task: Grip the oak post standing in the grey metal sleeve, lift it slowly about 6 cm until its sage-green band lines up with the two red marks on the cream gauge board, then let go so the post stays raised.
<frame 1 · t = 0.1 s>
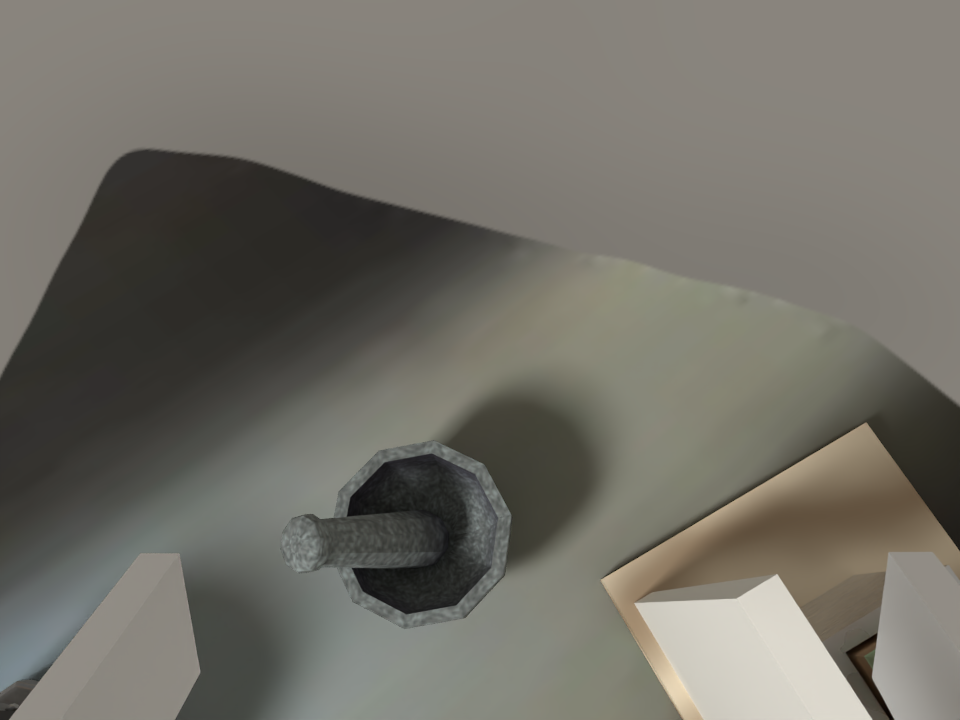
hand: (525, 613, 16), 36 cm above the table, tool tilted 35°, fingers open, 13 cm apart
metal sleeve: (880, 667, 41), on the birch base plate, point 8 cm above the table
mortar and pestle: (425, 543, 52), on the table
birch base plate: (831, 658, 49), on the table
oak post: (938, 678, 35), point 14 cm above the table, slide at 0.0 cm
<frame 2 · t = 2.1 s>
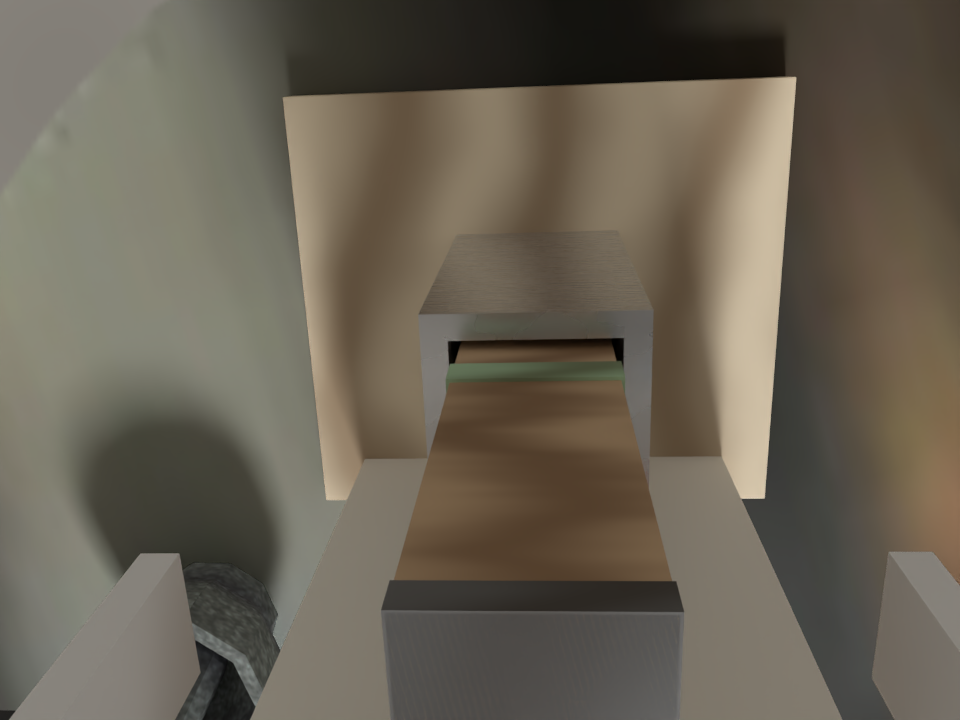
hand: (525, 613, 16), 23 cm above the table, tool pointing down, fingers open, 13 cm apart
metal sleeve: (537, 355, 31), on the birch base plate, point 8 cm above the table
mortar and pestle: (217, 621, 45), on the table
birch base plate: (537, 300, 38), on the table
gauge board: (540, 675, 26), on the birch base plate, point 16 cm above the table
oak post: (536, 427, 25), point 14 cm above the table, slide at 0.0 cm
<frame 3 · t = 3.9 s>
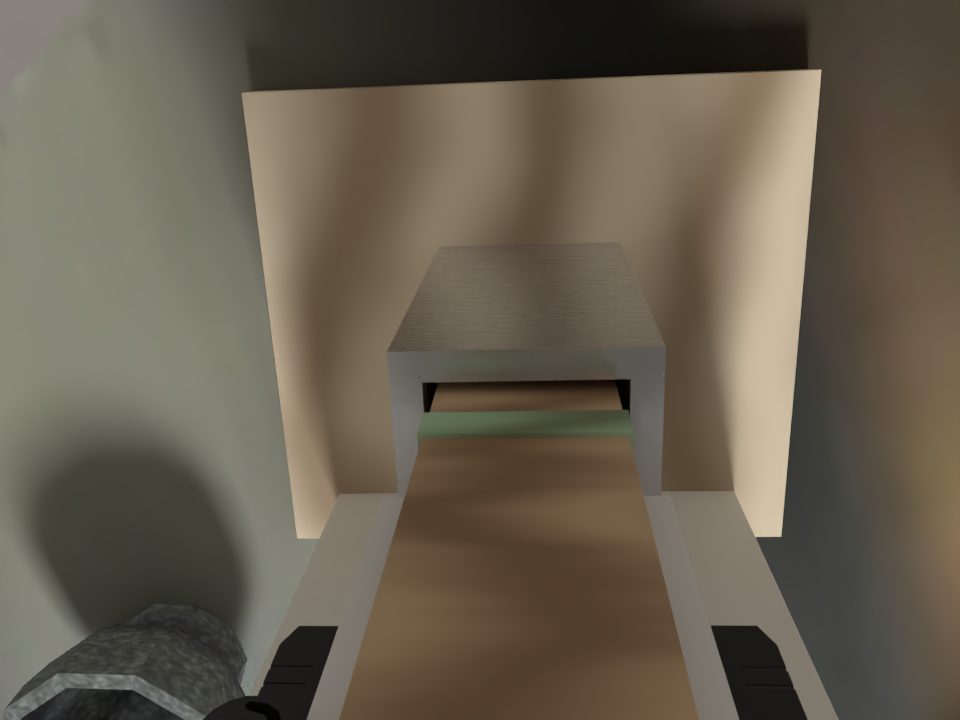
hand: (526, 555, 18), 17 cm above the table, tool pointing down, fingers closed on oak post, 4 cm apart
metal sleeve: (529, 387, 27), on the birch base plate, point 8 cm above the table
mortar and pestle: (180, 666, 41), on the table
birch base plate: (530, 318, 34), on the table
oak post: (527, 483, 21), point 14 cm above the table, slide at 0.0 cm, touching gripper
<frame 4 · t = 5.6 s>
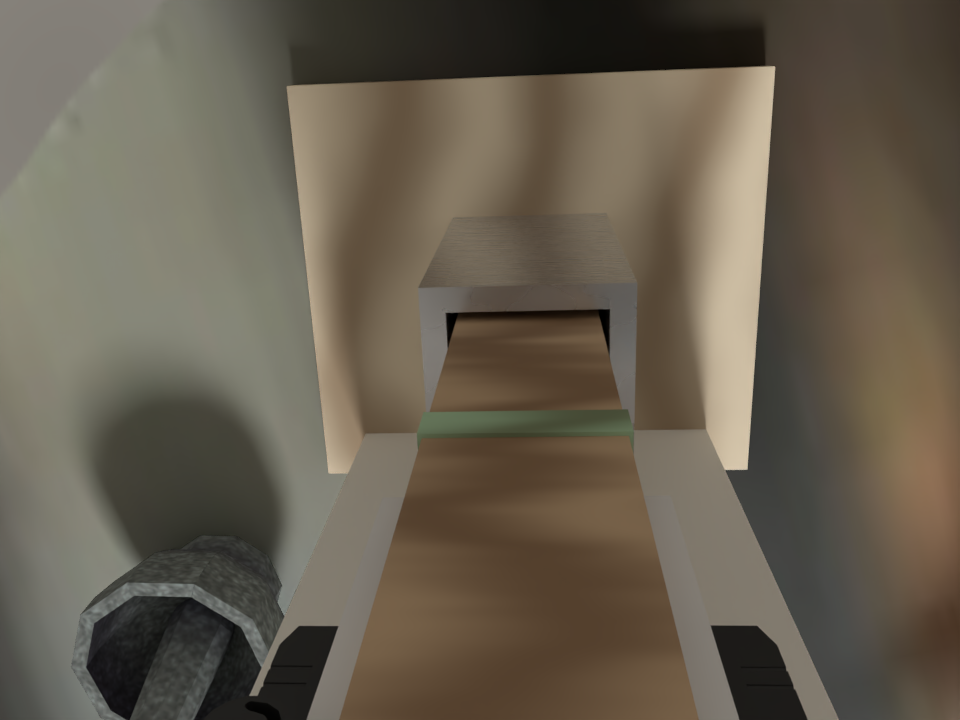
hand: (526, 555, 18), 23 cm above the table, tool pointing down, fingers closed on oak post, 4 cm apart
metal sleeve: (529, 329, 33), on the birch base plate, point 8 cm above the table
mortar and pestle: (223, 592, 47), on the table
birch base plate: (530, 280, 40), on the table
gauge board: (533, 624, 27), on the birch base plate, point 16 cm above the table
oak post: (527, 483, 21), point 20 cm above the table, slide at 5.9 cm, touching gripper
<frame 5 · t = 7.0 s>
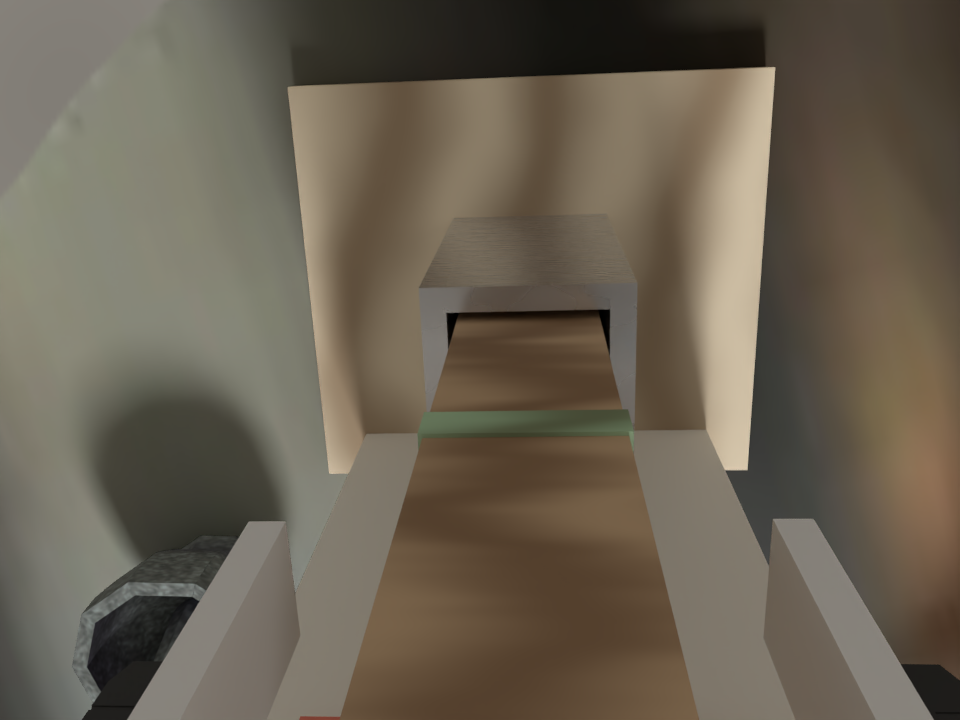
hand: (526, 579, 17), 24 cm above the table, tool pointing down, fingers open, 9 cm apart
metal sleeve: (530, 330, 33), on the birch base plate, point 8 cm above the table
mortar and pestle: (223, 592, 47), on the table
birch base plate: (531, 281, 40), on the table
gauge board: (533, 624, 27), on the birch base plate, point 16 cm above the table
oak post: (527, 483, 21), point 20 cm above the table, slide at 6.0 cm
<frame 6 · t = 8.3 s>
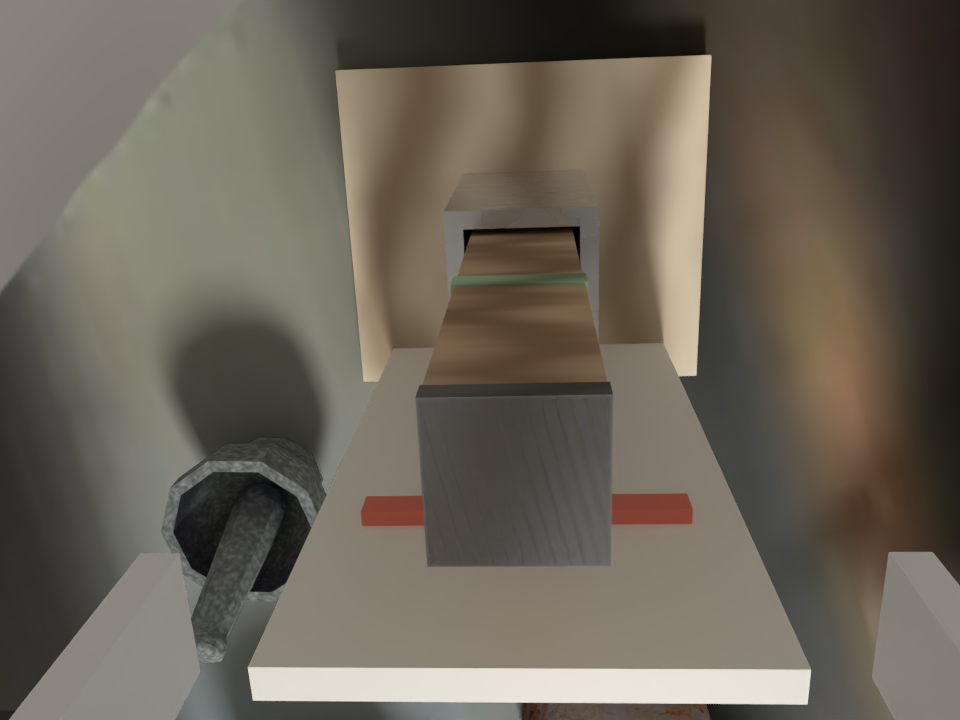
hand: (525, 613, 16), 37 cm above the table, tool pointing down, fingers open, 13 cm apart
metal sleeve: (523, 254, 43), on the birch base plate, point 8 cm above the table
mortar and pestle: (274, 486, 58), on the table
birch base plate: (524, 225, 50), on the table
food item: (616, 714, 62), on the table
gauge board: (526, 456, 38), on the birch base plate, point 16 cm above the table
oak post: (521, 329, 32), point 20 cm above the table, slide at 6.0 cm
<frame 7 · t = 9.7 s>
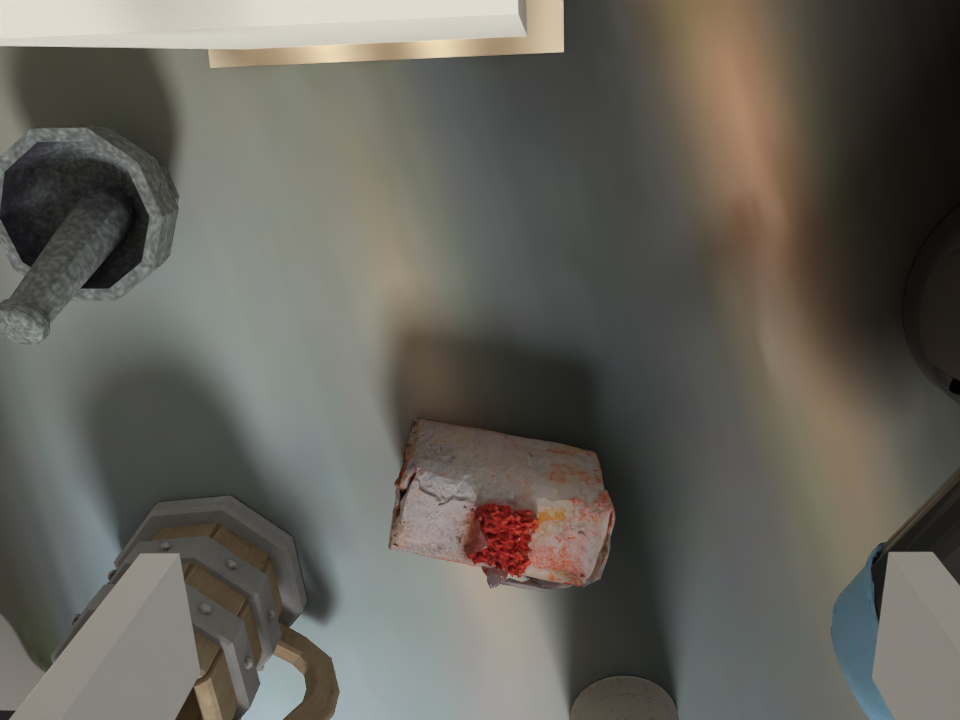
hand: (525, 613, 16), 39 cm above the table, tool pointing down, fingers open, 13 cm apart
tankard: (259, 600, 63), on the table
mortar and pestle: (129, 207, 54), on the table
food item: (504, 472, 59), on the table
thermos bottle: (623, 716, 65), on the table
gauge board: (322, 14, 34), on the birch base plate, point 16 cm above the table
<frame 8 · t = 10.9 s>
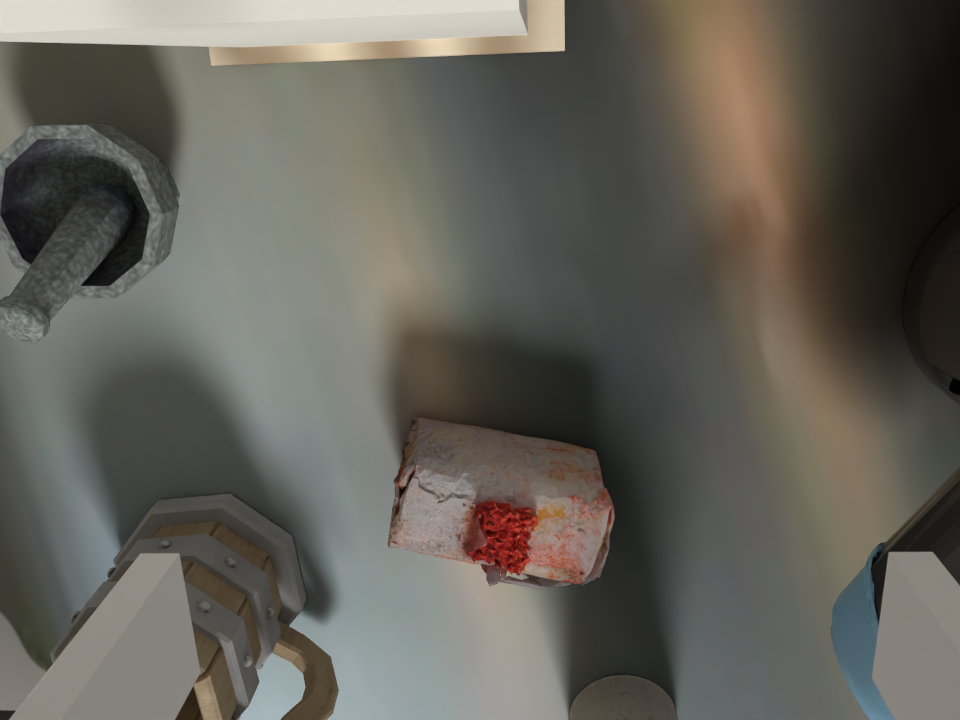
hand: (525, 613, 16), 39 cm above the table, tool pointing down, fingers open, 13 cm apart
tankard: (258, 598, 63), on the table
mortar and pestle: (129, 205, 54), on the table
food item: (504, 470, 59), on the table
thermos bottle: (622, 716, 65), on the table
gauge board: (323, 12, 34), on the birch base plate, point 16 cm above the table
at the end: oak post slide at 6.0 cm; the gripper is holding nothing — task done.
